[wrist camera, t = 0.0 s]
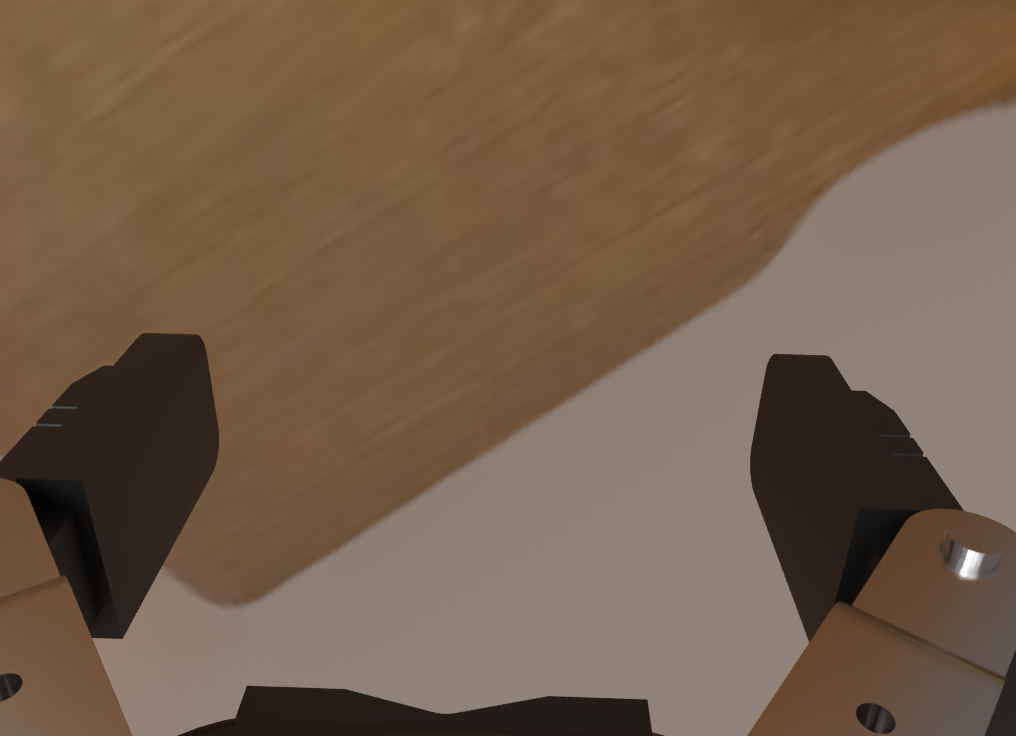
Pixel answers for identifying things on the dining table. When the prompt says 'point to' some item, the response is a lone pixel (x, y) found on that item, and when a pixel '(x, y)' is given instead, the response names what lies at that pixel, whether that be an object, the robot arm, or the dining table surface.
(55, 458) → the robot arm
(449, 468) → the dining table surface
